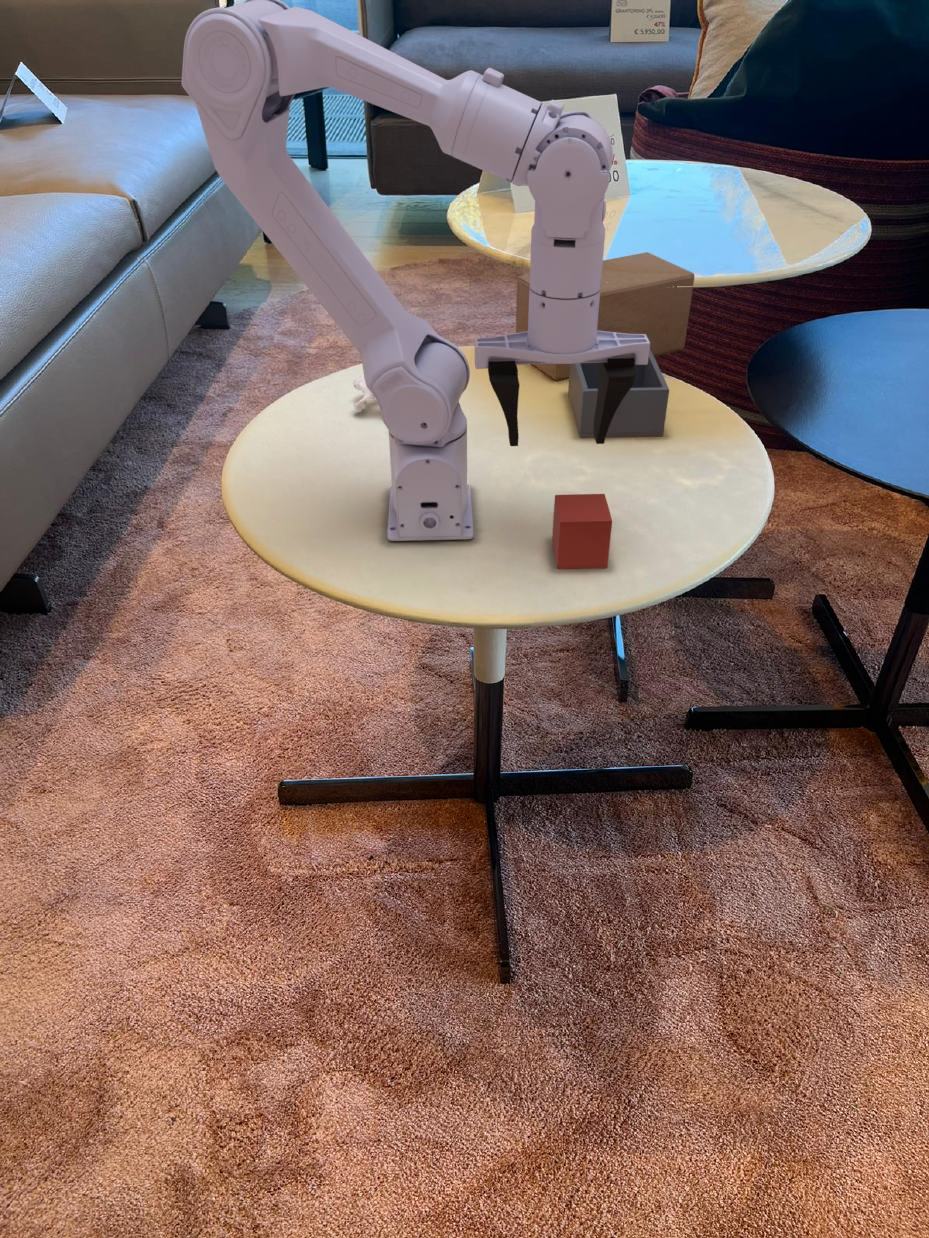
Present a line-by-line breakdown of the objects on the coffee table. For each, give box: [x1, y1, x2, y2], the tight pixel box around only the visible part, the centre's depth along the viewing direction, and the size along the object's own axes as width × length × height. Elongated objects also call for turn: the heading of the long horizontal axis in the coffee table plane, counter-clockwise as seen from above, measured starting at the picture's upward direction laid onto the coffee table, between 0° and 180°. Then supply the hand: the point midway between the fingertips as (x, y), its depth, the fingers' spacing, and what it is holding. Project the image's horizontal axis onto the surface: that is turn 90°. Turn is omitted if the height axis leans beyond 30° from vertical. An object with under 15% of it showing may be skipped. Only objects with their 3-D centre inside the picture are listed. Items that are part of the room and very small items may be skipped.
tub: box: [567, 349, 670, 439], centre depth 104 cm, size 11×9×6 cm
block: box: [551, 493, 613, 570], centre depth 82 cm, size 4×4×5 cm
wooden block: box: [515, 251, 695, 381], centre depth 117 cm, size 10×10×20 cm
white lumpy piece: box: [352, 376, 377, 413], centre depth 107 cm, size 8×4×7 cm
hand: (556, 440), depth 83 cm, fingers open, 7 cm apart
